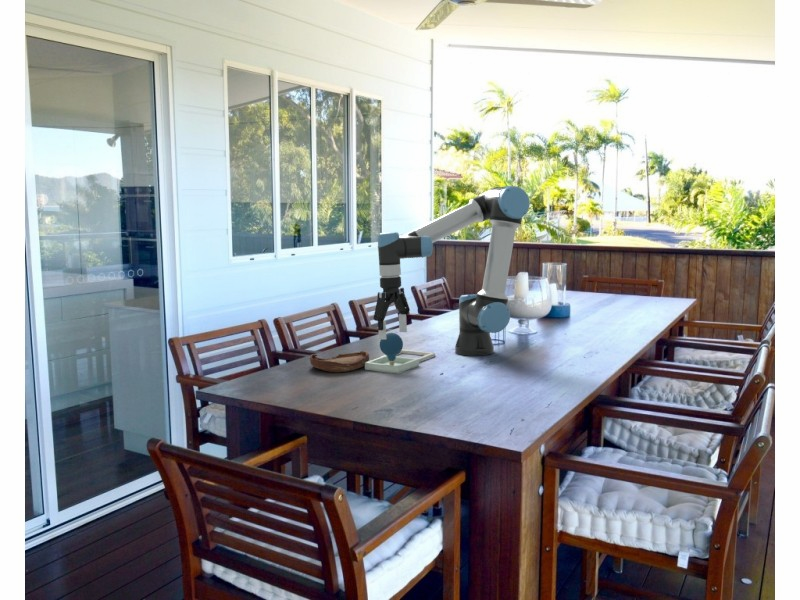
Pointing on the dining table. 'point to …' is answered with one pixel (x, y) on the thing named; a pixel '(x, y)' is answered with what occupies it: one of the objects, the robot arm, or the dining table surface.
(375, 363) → the tray
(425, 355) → the pale square frame
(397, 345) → the light bulb
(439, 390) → the dining table surface
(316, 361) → the basket
